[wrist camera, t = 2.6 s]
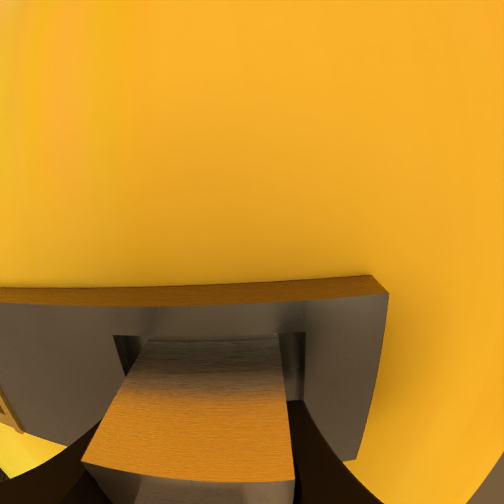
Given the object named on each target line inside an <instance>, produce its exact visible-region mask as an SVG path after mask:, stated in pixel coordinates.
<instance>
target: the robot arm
mask: <svg viewBox="0 0 504 504" xmlns="http://www.w3.org/2000/svg"><path fill="white" fill-rule="evenodd" d="M286 404H287V413H288V421H289V430H290V439H291V448H292V457H293V466H294V475H295V486H294V498H293V504H384V503H382V502H381V501H380V500H379V499H378V498H376V497H375V496H374V495H373V494H372V493H371V492H370V491H369V490H368V489H366V488H365V487H364V486H363V485H362V484H361V483H360V482H359V481H358V480H357V479H356V477H355V476H354V475H353V474H352V473H351V472H350V471H349V470H348V469H347V467H346V466H345V465H344V464H343V463H342V461H341V460H340V459H339V458H338V456H337V455H336V454H335V452H334V451H333V450H332V448H331V447H330V445H329V444H328V443H327V441H326V440H325V438H324V437H323V435H322V434H321V432H320V431H319V429H318V427H317V426H316V424H315V422H314V420H313V419H312V417H311V415H310V413H309V411H308V409H307V407H306V404H305V402H304V401H303V400H290V401H286ZM103 418H104V417H103ZM103 418H102V419H103ZM102 419H101V420H100V421H99V422H98V423H96V424H95V425H94V426H93V427H92V428H91V429H90V430H88V431H87V432H86V433H85V434H84V435H83V436H81V437H80V438H79V439H77V440H76V441H75V442H74V443H72V444H71V445H70V446H68V447H67V448H66V449H64V450H63V451H62V452H60V453H59V454H57V455H56V456H54V457H53V458H51V459H50V460H48V461H46V462H44V463H43V464H41V465H39V466H37V467H36V468H34V469H31V470H29V471H27V472H25V473H23V474H21V475H19V476H16V477H14V478H11V479H9V480H6V481H3V482H0V504H113V503H112V502H111V501H110V499H109V498H108V497H107V496H106V494H105V493H104V492H103V491H102V489H101V488H100V487H99V485H98V484H97V483H96V481H95V480H94V479H93V477H92V476H91V475H90V473H89V472H88V470H87V469H86V468H85V466H84V465H83V463H82V462H81V459H82V457H83V455H84V454H85V452H86V450H87V448H88V446H89V444H90V442H91V440H92V438H93V436H94V434H95V433H96V431H97V429H98V427H99V425H100V423H101V421H102Z"/></svg>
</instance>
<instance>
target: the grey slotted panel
mask: <svg viewBox="0 0 504 504" xmlns="http://www.w3.org/2000/svg"><path fill="white" fill-rule="evenodd" d="M388 298H389V293H388V292H387V291H386V290H385V289H384V288H383V287H382V286H381V285H380V284H379V283H378V282H377V281H376V280H375V279H374V278H373V277H372V276H371V275H367V276H354V277H341V278H327V279H312V280H296V281H279V282H262V283H242V284H220V285H196V286H167V287H128V288H0V422H1V423H3V424H6V425H8V426H11V427H13V428H14V429H15V430H16V432H19V433H21V434H24V432H26V433H28V434H31V435H34V436H37V437H40V438H43V439H46V440H49V441H52V442H55V443H58V444H61V445H65V446H70V445H71V444H72V443H74V442H75V441H76V440H77V439H79V438H80V437H81V436H83V435H84V434H85V433H86V432H87V431H88V430H90V429H91V428H92V427H93V426H94V425H95V424H96V423H98V422H99V421H100V420H101V419H102V418H103V417H104V416H105V414H106V412H107V410H108V408H109V407H110V405H111V403H112V401H113V399H114V398H115V396H116V394H117V392H118V390H119V389H120V387H121V385H122V383H123V382H124V380H125V378H126V376H127V374H128V373H129V371H130V369H131V367H132V366H133V364H134V362H135V361H136V359H137V357H138V355H139V354H140V352H141V350H142V348H143V347H144V345H145V343H146V342H147V341H238V340H261V339H279V347H280V355H281V363H282V371H283V379H284V387H285V396H286V401H290V400H303V401H304V402H305V404H306V407H307V409H308V411H309V413H310V415H311V417H312V419H313V420H314V422H315V424H316V426H317V427H318V429H319V431H320V432H321V434H322V435H323V437H324V438H325V440H326V441H327V443H328V444H329V445H330V447H331V448H332V450H333V451H334V452H335V454H336V455H337V456H338V458H339V459H340V460H341V461H342V462H343V461H349V460H354V459H356V457H357V454H358V451H359V447H360V444H361V440H362V437H363V433H364V429H365V425H366V421H367V417H368V413H369V409H370V405H371V400H372V396H373V391H374V387H375V382H376V377H377V372H378V366H379V361H380V355H381V349H382V343H383V336H384V330H385V322H386V315H387V307H388Z"/></svg>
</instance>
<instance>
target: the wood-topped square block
mask: <svg viewBox="0 0 504 504" xmlns="http://www.w3.org/2000/svg"><path fill="white" fill-rule="evenodd" d="M81 462H82V463H83V465H84V466H85V468H86V469H87V470H88V472H89V473H90V475H91V476H92V477H93V479H94V480H95V481H96V483H97V484H98V485H99V487H100V488H101V489H102V491H103V492H104V493H105V494H106V496H107V497H108V498H109V499H110V501H111V502H112V503H113V504H293V498H294V486H295V475H294V466H293V457H292V448H291V439H290V430H289V421H288V413H287V404H286V396H285V387H284V379H283V371H282V363H281V355H280V347H279V339H261V340H238V341H147V342H146V343H145V345H144V347H143V348H142V350H141V352H140V354H139V355H138V357H137V359H136V361H135V362H134V364H133V366H132V367H131V369H130V371H129V373H128V374H127V376H126V378H125V380H124V382H123V383H122V385H121V387H120V389H119V390H118V392H117V394H116V396H115V398H114V399H113V401H112V403H111V405H110V407H109V408H108V410H107V412H106V414H105V416H104V418H103V419H102V421H101V423H100V425H99V427H98V429H97V431H96V433H95V434H94V436H93V438H92V440H91V442H90V444H89V446H88V448H87V450H86V452H85V454H84V455H83V457H82V459H81Z"/></svg>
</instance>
